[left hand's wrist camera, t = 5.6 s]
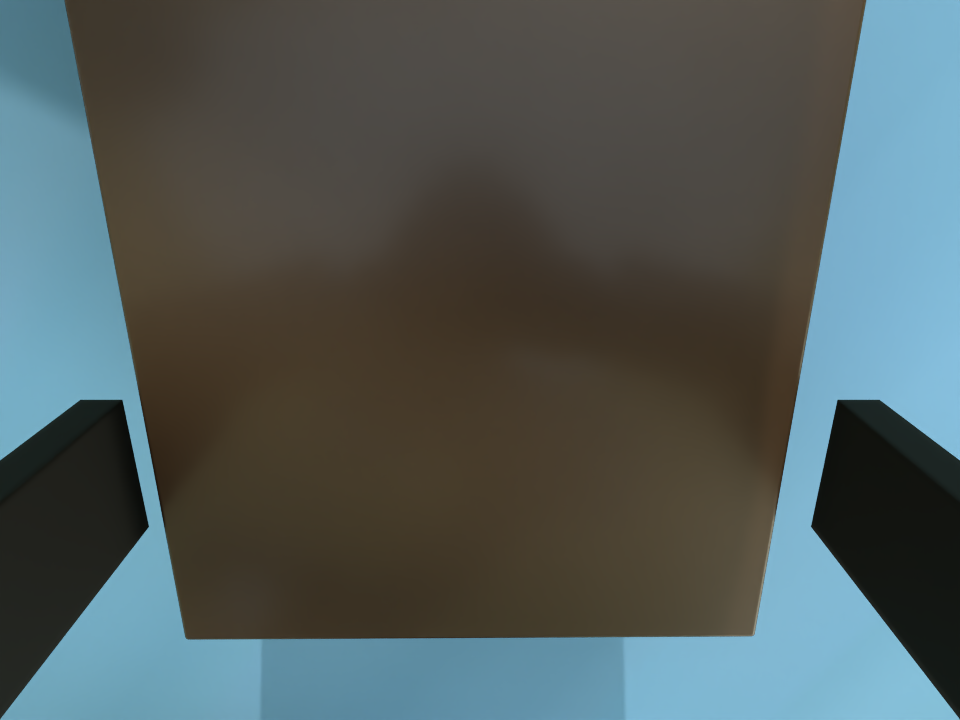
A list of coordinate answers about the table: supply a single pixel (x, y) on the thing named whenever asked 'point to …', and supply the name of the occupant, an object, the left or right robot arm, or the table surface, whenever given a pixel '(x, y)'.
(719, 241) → the brown wooden slab
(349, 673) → the table surface
